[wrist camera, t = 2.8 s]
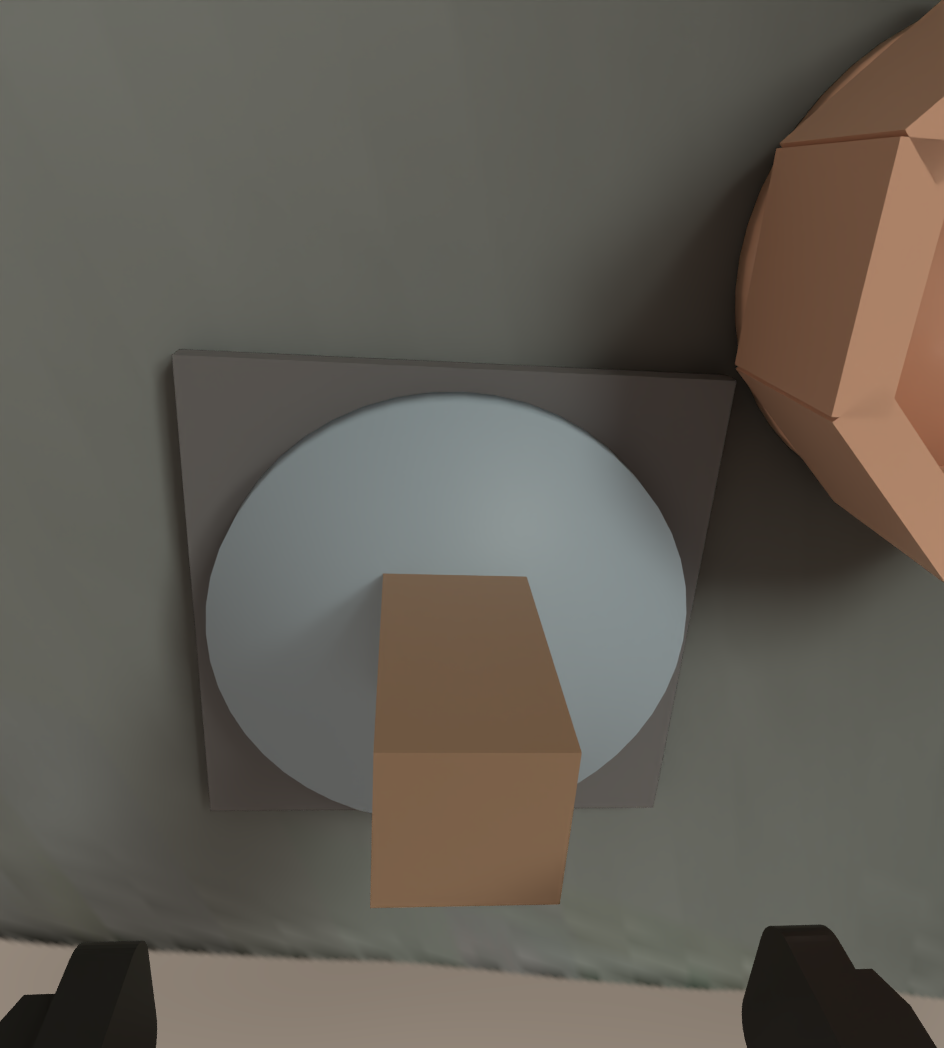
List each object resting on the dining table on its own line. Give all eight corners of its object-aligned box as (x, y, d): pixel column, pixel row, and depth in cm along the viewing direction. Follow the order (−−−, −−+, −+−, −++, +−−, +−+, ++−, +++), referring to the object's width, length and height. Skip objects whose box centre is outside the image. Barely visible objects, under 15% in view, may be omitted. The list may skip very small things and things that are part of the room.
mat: (726, 375, 18) (736, 381, 17) (647, 792, 23) (653, 807, 22) (179, 349, 17) (171, 354, 16) (215, 794, 21) (210, 810, 21)
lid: (710, 402, 18) (887, 528, 11) (637, 793, 22) (735, 1047, 15) (199, 379, 16) (68, 505, 10) (228, 795, 21) (150, 1069, 14)
